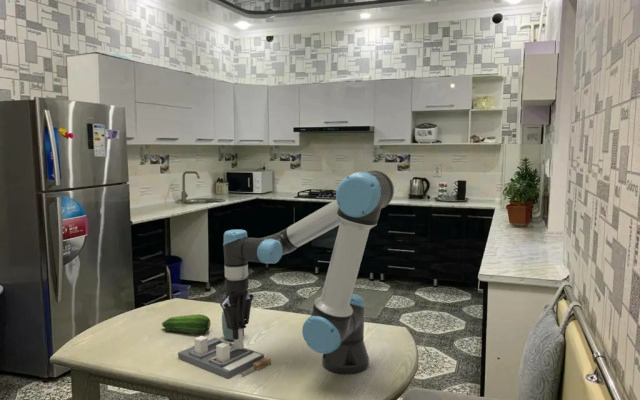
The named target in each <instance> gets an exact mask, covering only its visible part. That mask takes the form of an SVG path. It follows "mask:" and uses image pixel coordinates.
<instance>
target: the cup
mask: <svg viewBox="0 0 640 400" xmlns="http://www.w3.org/2000/svg"><path fill="white" fill-rule="evenodd" d="M221 328H222V329H221V330H222V335H223V337H224V338H225V339H226V340H230V341H234V339H233V331H232V330H231V329H228V328H227V324H226V320H225V316H224V312H223V311H222V312H221Z"/></svg>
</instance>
